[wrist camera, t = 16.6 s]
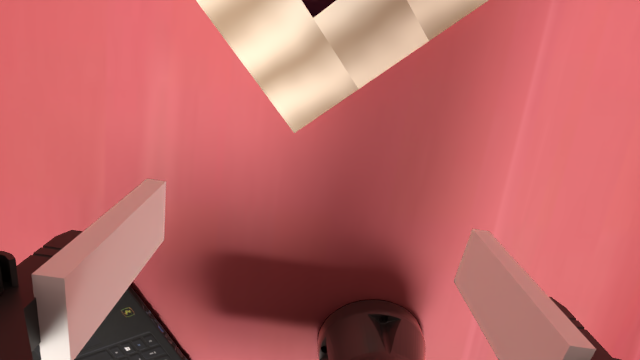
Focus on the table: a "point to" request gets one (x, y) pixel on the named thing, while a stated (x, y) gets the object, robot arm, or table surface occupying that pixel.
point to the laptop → (128, 335)
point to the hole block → (326, 45)
